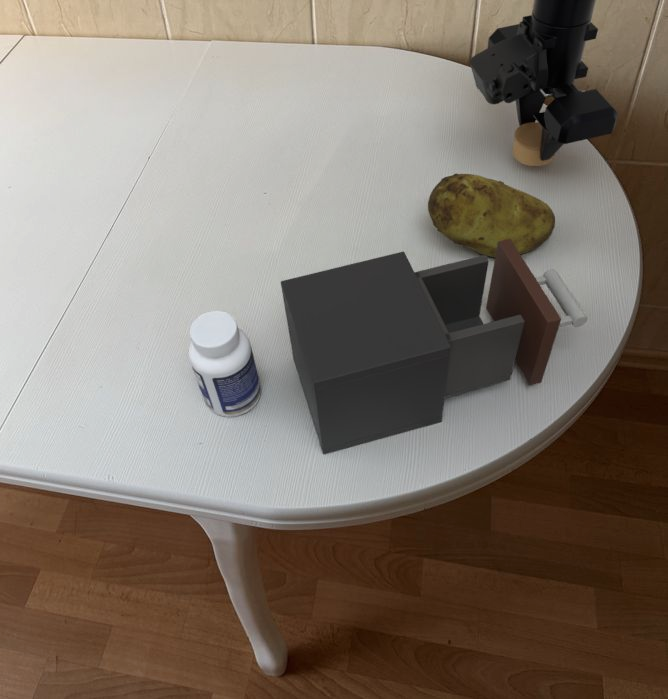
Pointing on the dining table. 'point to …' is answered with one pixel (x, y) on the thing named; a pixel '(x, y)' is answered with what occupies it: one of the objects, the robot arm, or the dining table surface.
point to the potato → (488, 214)
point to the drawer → (497, 318)
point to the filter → (529, 144)
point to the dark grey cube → (366, 351)
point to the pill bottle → (223, 364)
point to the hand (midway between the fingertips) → (534, 145)
